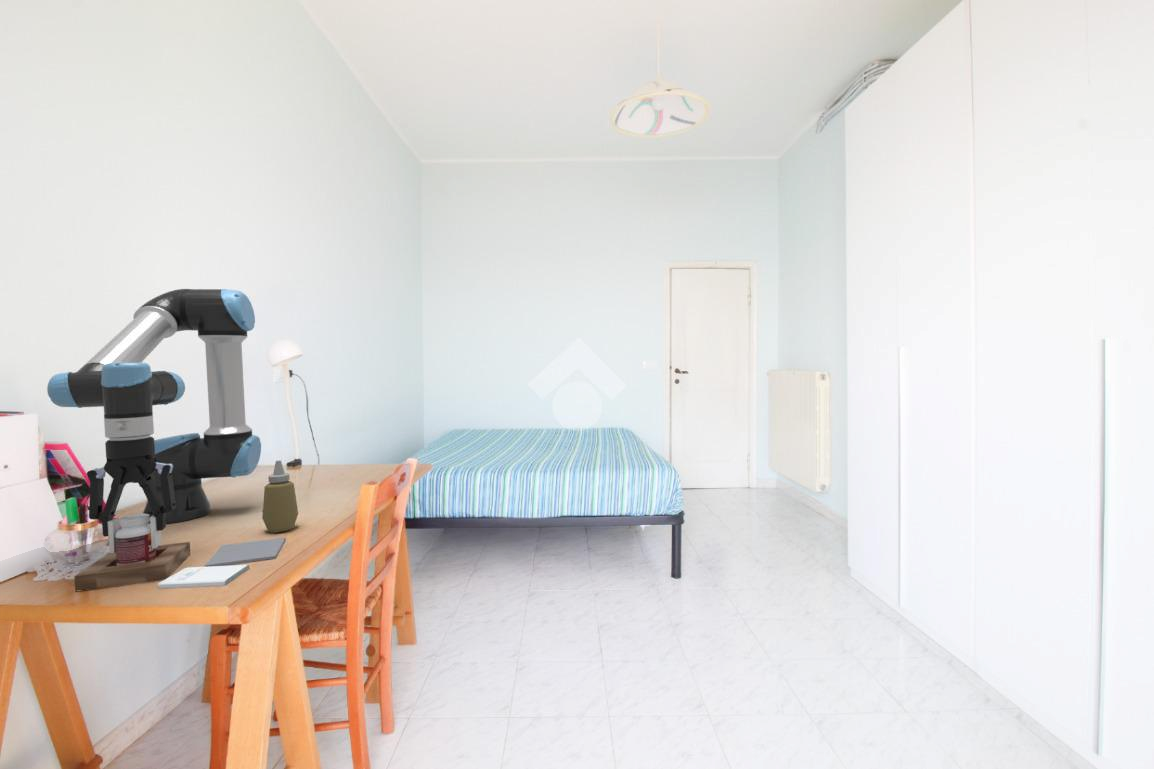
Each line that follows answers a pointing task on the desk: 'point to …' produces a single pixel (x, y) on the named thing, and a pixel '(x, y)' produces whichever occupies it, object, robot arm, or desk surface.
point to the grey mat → (246, 552)
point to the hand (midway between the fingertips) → (136, 548)
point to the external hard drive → (203, 576)
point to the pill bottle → (134, 540)
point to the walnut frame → (132, 568)
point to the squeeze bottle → (279, 501)
